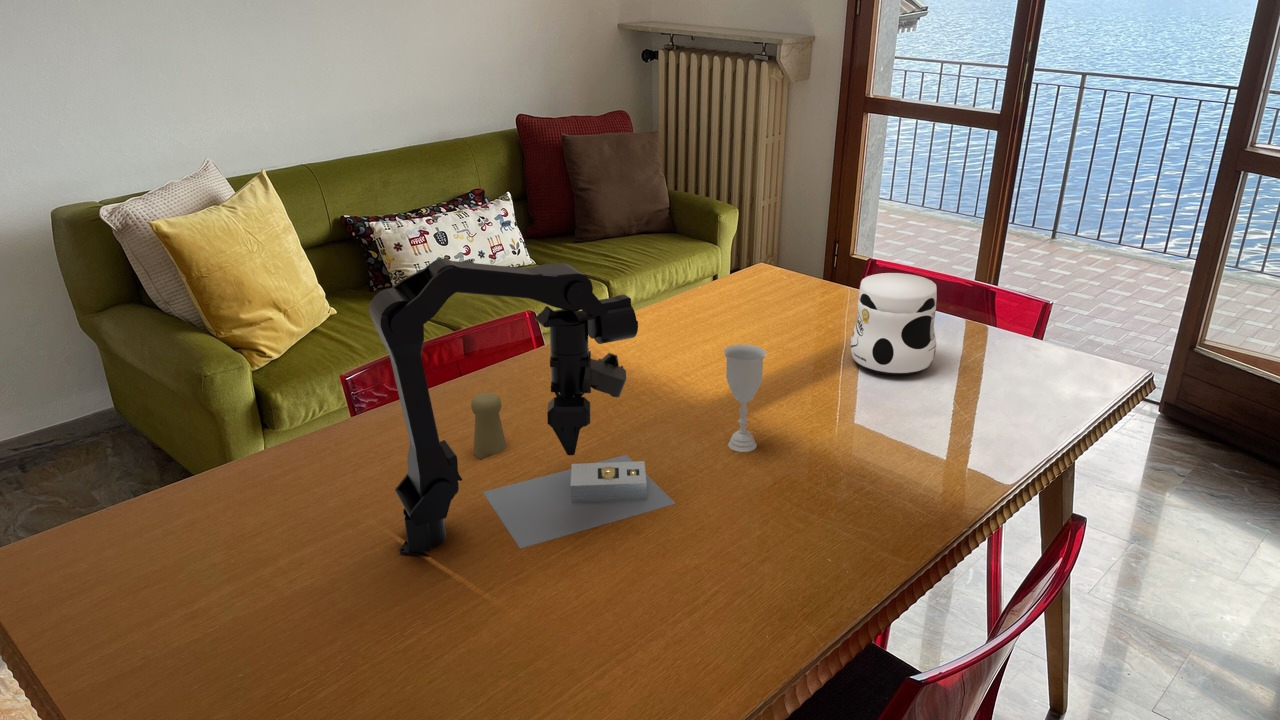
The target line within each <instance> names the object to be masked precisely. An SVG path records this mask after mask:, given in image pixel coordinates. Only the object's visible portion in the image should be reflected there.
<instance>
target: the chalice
mask: <svg viewBox="0 0 1280 720" xmlns="http://www.w3.org/2000/svg"><path fill="white" fill-rule="evenodd" d="M723 352H724V353H723V354H724V356H725V358H726V366H725V367H726V370H725V371H726V372H725V373H726V374H725V375H726V380H727V383H728V386H729V389H730V391H731V393H732V395H733V397H734V398H735V400H736V401H737V402H739V403H740V408H739V410H738V412H739V414H740V417H739V419H738V420H737V422H738V423H739V429H738V430H737V431H735V432H734V433H733V434H732V435H731V438H730V441H729V442H728V443H727V445H728V448H729V449H730V450H733V451H736V452H740V453H747V452H748V453H749V452H753V451H755V449H756V448H757V446H758V444H757V443H756V441H755V438H754V435H753V434H752V433H751V431H749V430H747V429H746V428H747V424H748V422H749V420H748V419H747V414H748V413H749V411H748V409H747V403H750V402H751V401H753V399H754V397H755V396H756V394H757V391H758V390H759V388H760V386H761V384H762V380H763V372H764V371H763V369H764V365H763V364H764V358H765V356H766V355H767V352H766V349H764V348H761V347H760V346H756V345H752V344H733V345H730V346H727V347H726V348H724V350H723Z"/></svg>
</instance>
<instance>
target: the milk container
mask: <svg viewBox="0 0 1280 720" xmlns="http://www.w3.org/2000/svg"><path fill="white" fill-rule="evenodd" d="M937 292H938V291H937V284H936V283H935V282H934V281H932V280H931V279H929V278H927V277H925V276H924V277H923V276H920V275H917V274H910V273H901V272H885V273H883V272H882V273H877V274H876V273H875V274H872V275H867V276H866V277H864V278H862V280H861V281H860V286H859V291H858V299H857V317H856V322H855V326H854V328H853V331H852V334H851V337H850V350H851V351H850V353H851V356H852V359H853V360H854V361H855V363H856V364H858V365H859V366H860V367H862V368H864V369H865V370H868V371H870V372H873V373H877V374H882V375H889V376H906V375H907V376H908V375H915V374H917V373H920V372H923V371H925V370H927V369H928V368H929V367H930V366H931V364H932V363H933V361H934V358H935V355H936V351H937V339H936V338H937V337H936V334H935V333H936V332H935V317H936V313H937V310H936V309H937V300H938V299H937V298H938V297H937V295H938V294H937Z"/></svg>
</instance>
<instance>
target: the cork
mask: <svg viewBox="0 0 1280 720" xmlns="http://www.w3.org/2000/svg"><path fill="white" fill-rule="evenodd" d="M470 406H471V408H470V409H471V411H472V413H473V414H474V434H473V436H474V438H473V440H474V441H473V456H474V457H475V458H477V459H478V458H479V460H482V459H483V460H485V459H487V458H489V457H491V456H493V455H497V454H500V453H502V452H504V451H505V449H506V448H507V446H508V445H507V442H506V439H505V438H506V437H505V433H504V428H503V425H502V421H501V416H500V412H501V410H502V401H501V399H500V397H499V395H497V394H496V393H493V392H482V393H479V394H477V395H475V396H474V397H473V399H472V400H471V404H470Z"/></svg>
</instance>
